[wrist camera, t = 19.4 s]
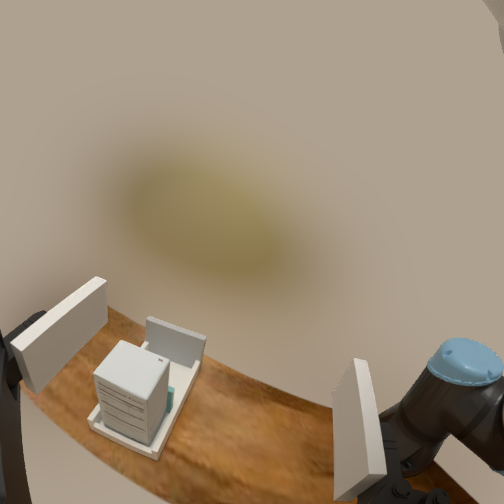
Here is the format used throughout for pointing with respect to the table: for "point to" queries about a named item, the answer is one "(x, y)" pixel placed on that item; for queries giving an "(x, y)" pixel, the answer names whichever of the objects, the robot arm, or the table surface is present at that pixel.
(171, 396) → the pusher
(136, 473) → the table surface
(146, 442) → the supplement box
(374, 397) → the robot arm
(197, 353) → the tray
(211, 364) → the table surface
